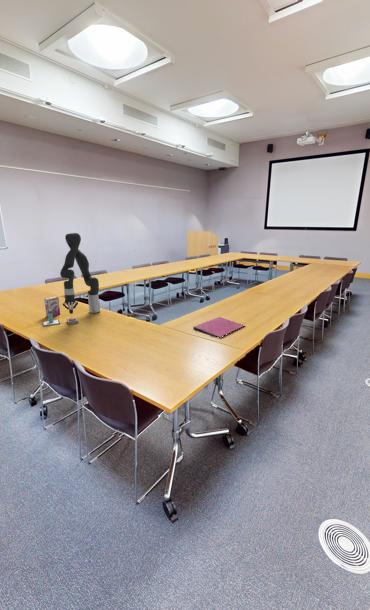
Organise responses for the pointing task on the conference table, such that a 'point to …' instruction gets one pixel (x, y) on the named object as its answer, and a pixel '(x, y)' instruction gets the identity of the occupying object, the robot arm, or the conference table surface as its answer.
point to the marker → (50, 316)
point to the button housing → (72, 321)
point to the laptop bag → (218, 327)
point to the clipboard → (51, 323)
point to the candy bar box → (52, 305)
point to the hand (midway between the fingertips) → (71, 313)
